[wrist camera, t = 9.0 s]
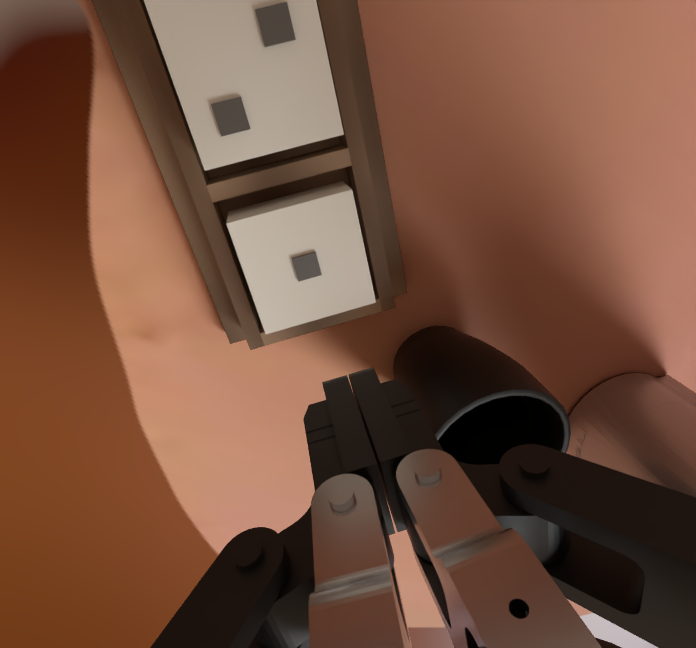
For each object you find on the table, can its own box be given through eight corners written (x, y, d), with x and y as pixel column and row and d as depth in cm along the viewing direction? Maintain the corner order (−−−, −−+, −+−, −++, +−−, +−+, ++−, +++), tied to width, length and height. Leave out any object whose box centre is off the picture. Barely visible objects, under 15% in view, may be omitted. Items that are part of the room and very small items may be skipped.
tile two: (300, -25, 19) (308, -43, 16) (334, 130, 22) (344, 134, 19) (155, 9, 18) (141, -4, 16) (209, 162, 21) (204, 171, 19)
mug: (416, 460, 35) (468, 572, 27) (355, 342, 30) (397, 438, 21) (511, 413, 35) (593, 512, 27) (469, 286, 30) (556, 360, 21)
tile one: (342, 180, 23) (353, 190, 21) (365, 285, 26) (377, 303, 24) (228, 211, 23) (226, 224, 21) (264, 314, 26) (265, 336, 24)
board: (287, -366, 16) (294, -454, 14) (402, 286, 29) (418, 305, 26) (-27, -309, 16) (-83, -392, 13) (230, 336, 28) (229, 361, 25)
